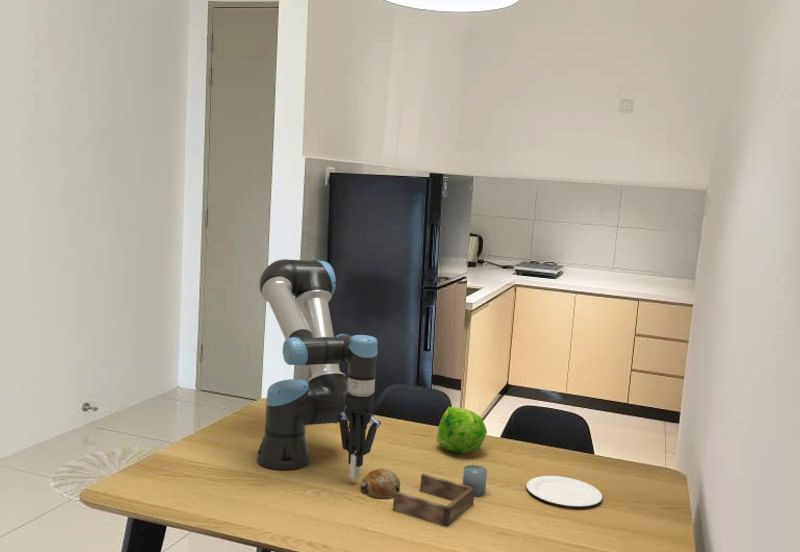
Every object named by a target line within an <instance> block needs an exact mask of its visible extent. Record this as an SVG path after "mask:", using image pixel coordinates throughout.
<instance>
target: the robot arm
mask: <svg viewBox="0 0 800 552" xmlns="http://www.w3.org/2000/svg"><path fill="white" fill-rule="evenodd" d="M336 279H337V278H336V274H335V271H334V268H333V267H332V265H331V264H330V263H329V262H327V261H325V260H318V259H312V260H311V259H310V260H306V259H287V258H286V259H279V260H275V261H274V262H271V263H270V264H269V265H267V267H266V268H265V269H264V270H263V272H262V273H261V276H260V279H259V285H258V286H259V290H260V291H259V292H260V294H261V297H262V298H263V299H264V300H265V302H266V303H268V304H269V305H270V307H271V308H270V309H271V310H272V312H273V314H274V316H275V320H276V322H277V323H278V326H279V329H280V330H281V332H282V335H283V337H284V339H285V340H284V341H283V345H282V355H283V360H284V362H285V364H286V365H289V366H299V367H300V366H310V372H311V376H310V378H309V379H308V381H307V380H305V379H304V380H303V379H294V378H292V379H291V378H290V379H283V380H279V381H276V382H274V383H272V384H271V385H270V386H269V387H268V389H267V394H266V399H265V404H266V406H265V421H264V423H265V424H264V435H263V438H262V441H261V443H260V445H259V447H258V448H259V449H258V451H257V454H256V455H257V456H256V462H257V463H258V465H259V466H261V467H264V468H267V469H270V470H276V471H292V470H297V469H302V468H304V467H306V466H307V465H309V463H310V451H309V447H308V443H307V439H306V427H307V426H313V425H315V426H316V425H327V424H339V430H340V431H339V432H340V437H341V444H342V445H341V446H342V449H343V450H344V451H347V453H348V461H347V464H348V465H350V467H349V478H350V479H356V478H359V477H360V474H361V473H360V472H361V471H360V470H361V467H362V466H363V464H364V456H366V455H368V454H369V453H370V452H371V450H372V446H373V443H374V440H375V436H376V434H377V429H378V428H379V427H380V425H381V424H382V423H381V421H380V420H376V419H375V417H374V412H373V408H374V399H375V395H374V393H375V386H376V370H377V360H378V352H379V350H378V339H377V338H376V337H375V336H371V335H365V334H356V335H352V336H351V335H350V334H346V333H340V334H337V335H335V336H334V330H333V324H332V318H331V312H330V307H329V302H330V301H331V299H332V296H333V295H334V294H335V292H336V286H337V285H336V282H337V281H336ZM340 364H343V365H344V364H345V365H347V376H346V374H345V373H344V372H342V371H340V369H341V368H340ZM368 426H369V429H368ZM367 429H368V430H367Z"/></svg>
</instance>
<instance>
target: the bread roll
mask: <svg viewBox="0 0 800 552" xmlns="http://www.w3.org/2000/svg"><path fill="white" fill-rule="evenodd" d="M360 489H361V490H363V492H364V494H366V495H368V496H369V497H372V498H375V499H391V498H394V493H395V492H396V491H397V492H400V489H401V482H400V478H399V477H398V476H397V474H396V473H395V472H393V471H392V470H391V469H389V468H388V469H387V468H378V469H373V470H371V471H370V472H368V474H367V475H365V476H364V477H362V482H361V484H360Z"/></svg>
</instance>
